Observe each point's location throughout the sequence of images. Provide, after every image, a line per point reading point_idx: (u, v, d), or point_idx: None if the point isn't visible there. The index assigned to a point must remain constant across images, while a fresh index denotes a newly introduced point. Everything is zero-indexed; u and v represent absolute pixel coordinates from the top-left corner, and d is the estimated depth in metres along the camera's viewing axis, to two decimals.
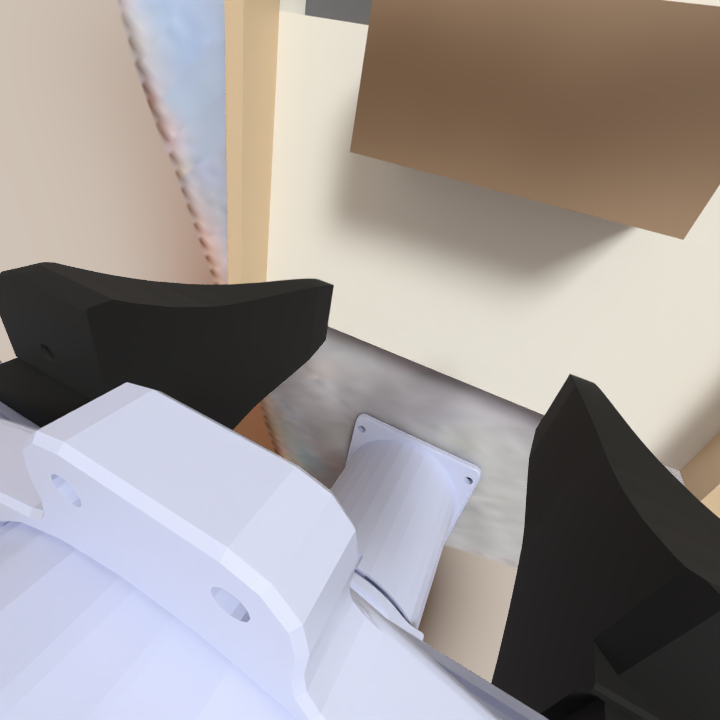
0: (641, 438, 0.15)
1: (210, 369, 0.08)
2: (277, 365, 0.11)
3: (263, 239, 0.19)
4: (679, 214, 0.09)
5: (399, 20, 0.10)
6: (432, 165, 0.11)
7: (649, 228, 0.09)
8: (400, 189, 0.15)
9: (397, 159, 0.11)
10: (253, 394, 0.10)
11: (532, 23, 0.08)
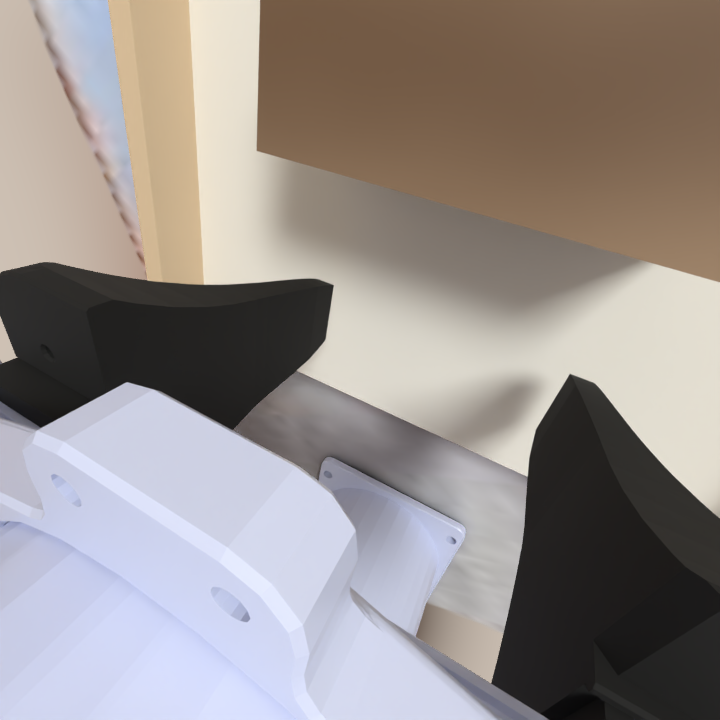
0: None
1: (210, 369, 0.08)
2: (277, 365, 0.11)
3: (194, 258, 0.15)
4: None
5: None
6: (368, 171, 0.07)
7: (701, 273, 0.06)
8: (352, 199, 0.12)
9: (320, 162, 0.07)
10: (253, 394, 0.10)
11: None
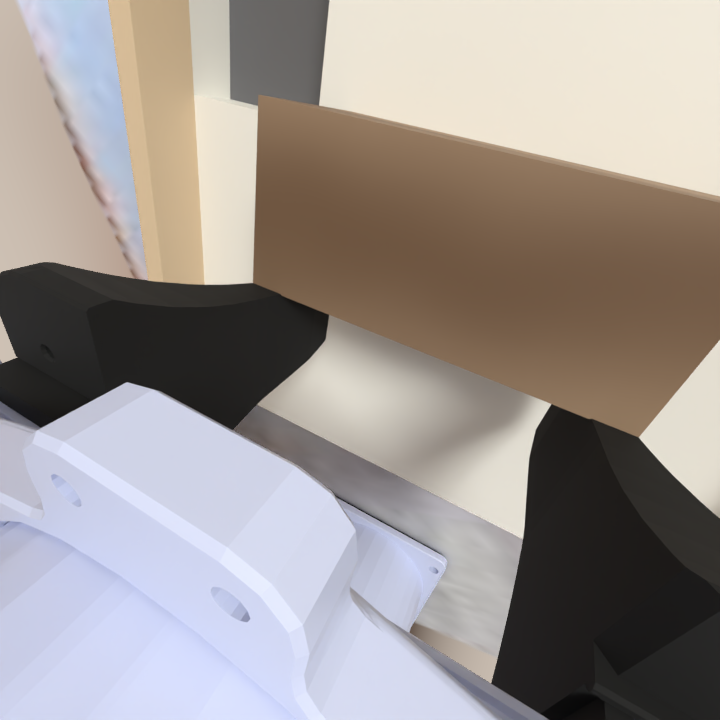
0: None
1: (210, 369, 0.08)
2: (277, 365, 0.11)
3: None
4: (631, 412, 0.07)
5: (290, 154, 0.08)
6: (343, 312, 0.09)
7: (596, 419, 0.07)
8: None
9: (304, 300, 0.09)
10: (253, 394, 0.10)
11: (441, 178, 0.07)
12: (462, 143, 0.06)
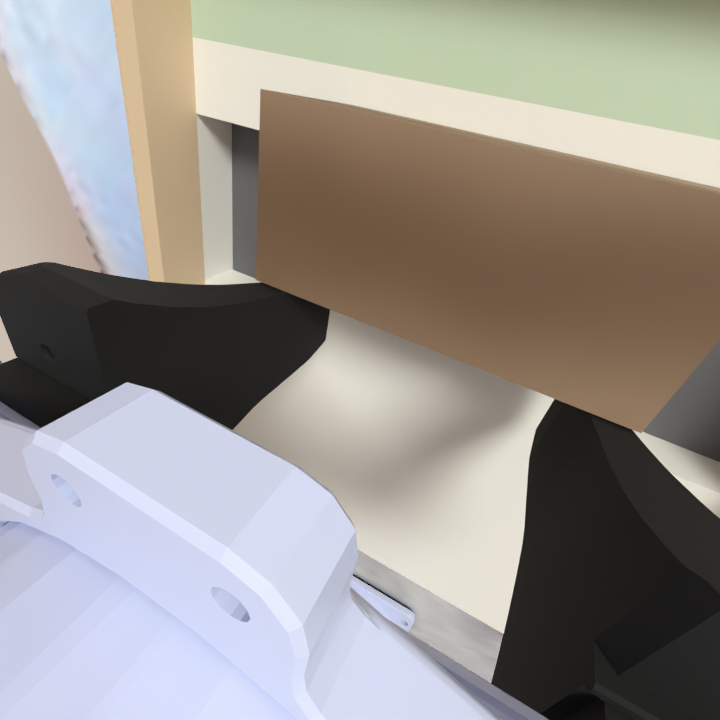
0: None
1: (210, 369, 0.08)
2: (277, 365, 0.11)
3: None
4: (635, 406, 0.07)
5: (292, 149, 0.08)
6: (346, 308, 0.09)
7: (600, 414, 0.07)
8: (317, 422, 0.17)
9: (307, 295, 0.09)
10: (254, 394, 0.10)
11: (445, 173, 0.07)
12: (466, 137, 0.06)
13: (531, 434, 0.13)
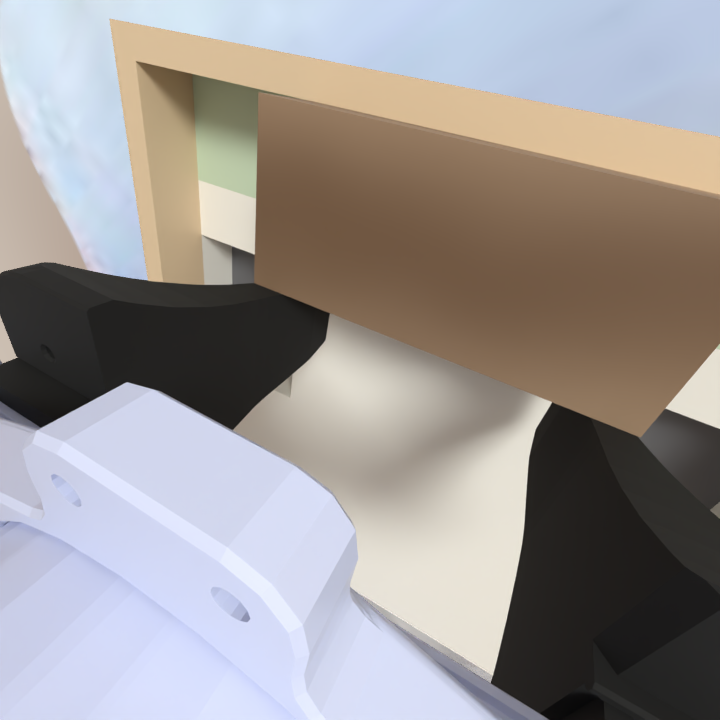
0: None
1: (210, 369, 0.08)
2: (277, 365, 0.11)
3: None
4: (634, 410, 0.07)
5: (290, 153, 0.08)
6: (345, 311, 0.09)
7: (599, 418, 0.07)
8: None
9: (306, 299, 0.09)
10: (254, 394, 0.10)
11: (443, 177, 0.07)
12: (464, 141, 0.06)
13: (487, 507, 0.15)
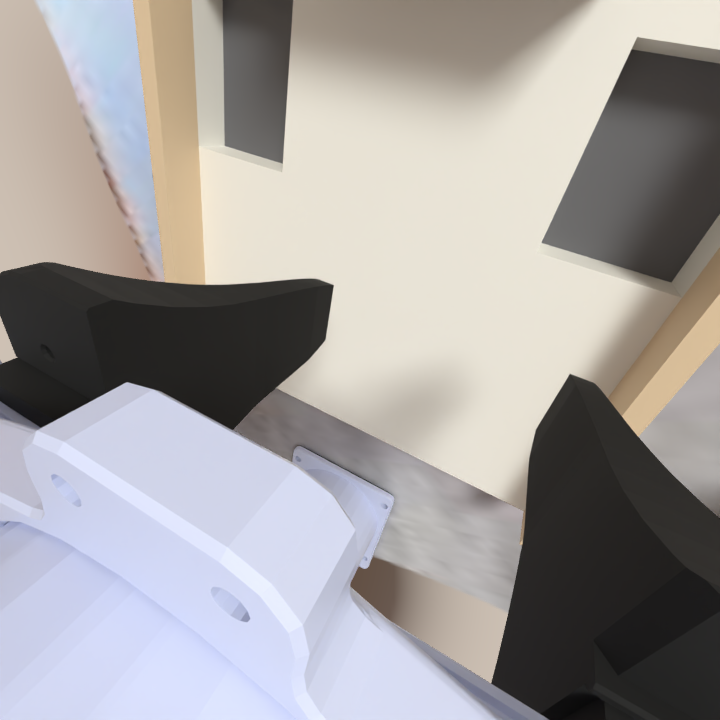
0: (493, 484, 0.19)
1: (210, 369, 0.08)
2: (277, 365, 0.11)
3: None
4: None
5: None
6: None
7: None
8: None
9: None
10: (253, 394, 0.10)
11: None
12: None
13: (483, 256, 0.14)
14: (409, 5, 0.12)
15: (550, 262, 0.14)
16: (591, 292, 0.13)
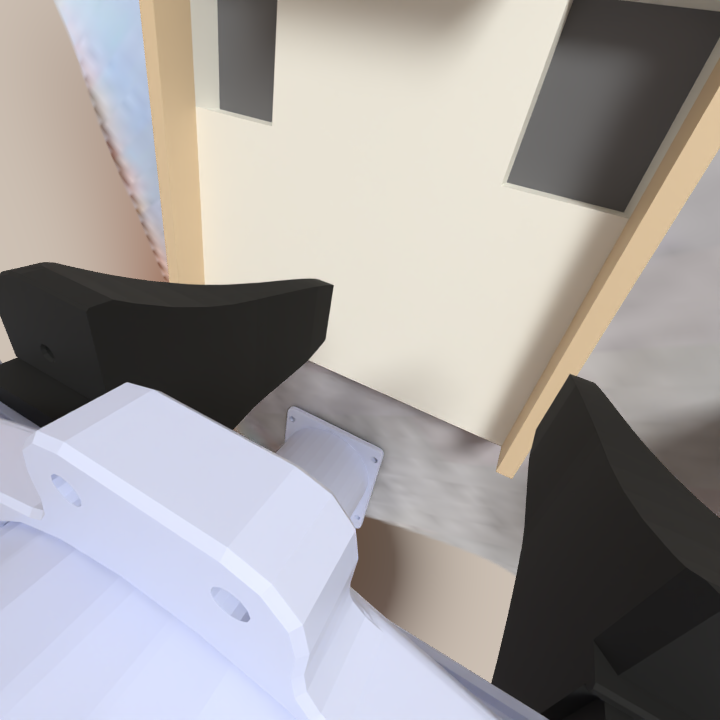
0: (473, 422, 0.20)
1: (210, 369, 0.08)
2: (277, 365, 0.11)
3: (199, 268, 0.24)
4: None
5: None
6: None
7: None
8: (290, 235, 0.20)
9: None
10: (253, 394, 0.10)
11: None
12: None
13: (454, 193, 0.16)
14: None
15: (513, 194, 0.15)
16: (550, 220, 0.15)
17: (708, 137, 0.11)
